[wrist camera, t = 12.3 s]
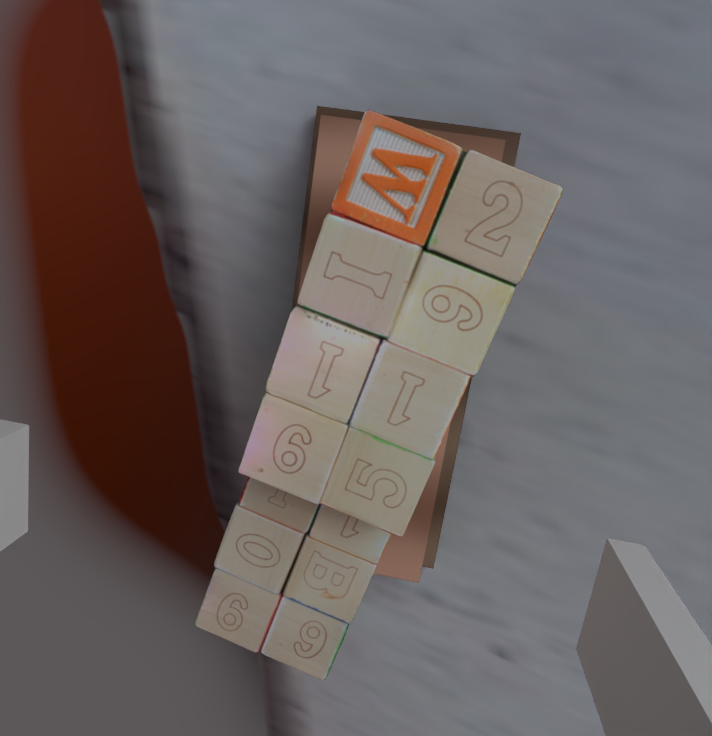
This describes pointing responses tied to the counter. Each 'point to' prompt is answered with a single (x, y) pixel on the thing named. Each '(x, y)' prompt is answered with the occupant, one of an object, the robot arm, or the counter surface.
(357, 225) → the stack of blocks
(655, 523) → the counter surface
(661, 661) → the robot arm
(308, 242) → the base brick
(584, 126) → the counter surface
